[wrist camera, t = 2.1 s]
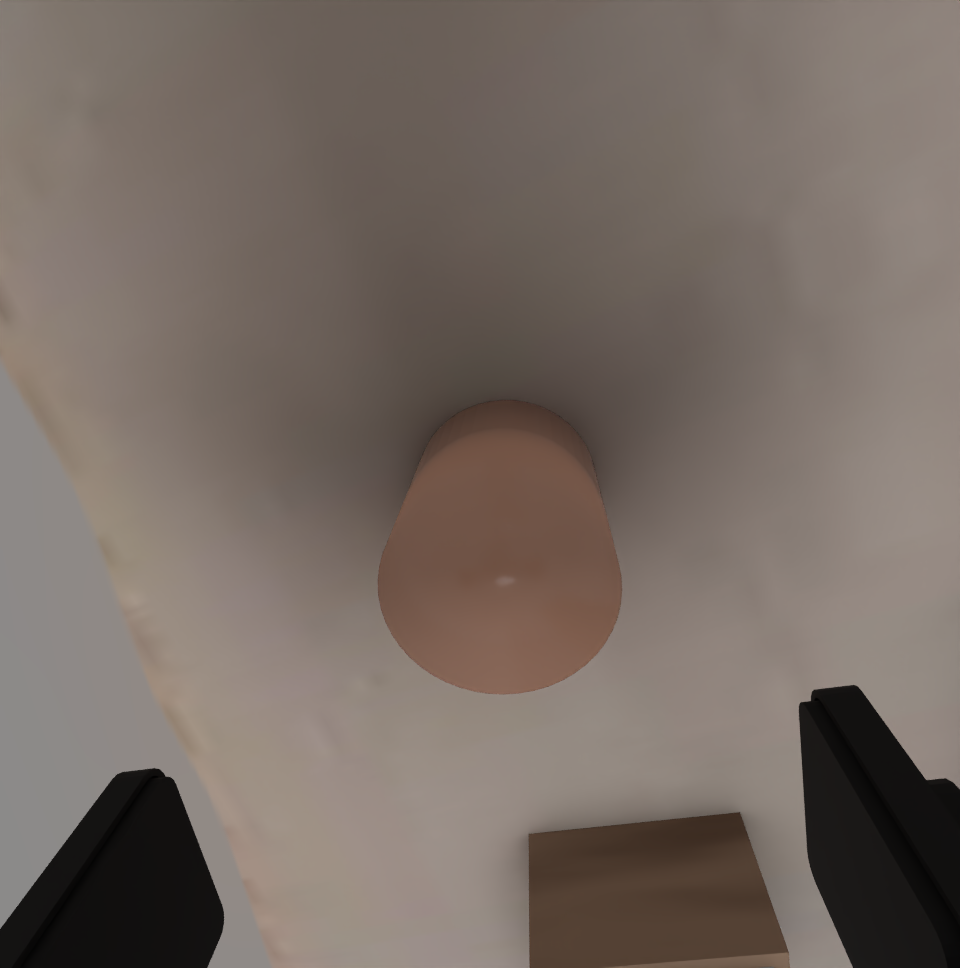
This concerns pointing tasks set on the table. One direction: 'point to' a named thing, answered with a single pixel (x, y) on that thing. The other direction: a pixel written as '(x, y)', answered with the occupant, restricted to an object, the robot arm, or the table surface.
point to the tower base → (651, 897)
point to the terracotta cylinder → (502, 553)
